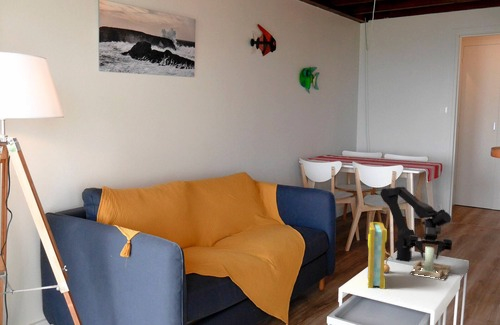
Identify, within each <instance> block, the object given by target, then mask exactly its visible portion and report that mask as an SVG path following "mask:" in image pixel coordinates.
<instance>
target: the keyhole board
mask: <svg viewBox="0 0 500 325" xmlns="http://www.w3.org/2000/svg"><path fill="white" fill-rule="evenodd" d="M424 264H425V260H424V261H423V260H417V261H416V262H415V264H414V265H413V268H412V270H413V269H415V271H412V270H411V271H410V272H409V274H410V273H412V274H418V275H424V276H430V277H435V278H440V279H445V277H446V276H447V277H448V275H449V274H450V272H451V265H449V264H443V263H436V262H434V269H433V270H435V271H437V272H438V273H432V272H426V271H420V270H421V268H423V269H424ZM448 273H449V274H448ZM447 274H448V275H447ZM447 277H446V278H447ZM445 280H446V279H445Z"/></svg>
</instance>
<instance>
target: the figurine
mask: <svg viewBox="0 0 500 325" xmlns="http://www.w3.org/2000/svg"><path fill="white" fill-rule="evenodd" d="M387 255H388V256H390V258H391V259H392V260H394V257H393V256H392V255H391V254H390V253H389V252H387V249H386V248H385V263H384V274H387V273H389V272H390V270H391V267H390V266H389V265H388V261H389V259H388V256H387Z"/></svg>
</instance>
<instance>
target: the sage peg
mask: <svg viewBox="0 0 500 325" xmlns="http://www.w3.org/2000/svg"><path fill="white" fill-rule="evenodd" d="M435 250H436V249H435V247H434V246H431V245H430V246H429V245H428V246H425V248H424V262H425V264H424V269H422V271H426V272H432V273H436V271H435V270H433V269H434V263H435Z"/></svg>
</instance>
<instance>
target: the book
mask: <svg viewBox="0 0 500 325" xmlns="http://www.w3.org/2000/svg"><path fill="white" fill-rule="evenodd" d="M368 228H369V231H368V234H367V247H368V258H367V259H368V261H367V263H368V264H367V288H369V289H374V287H375V286H377V287H379V290H385V286H386V277H385V273H384V264H385V262H386V259H385V249H386V242H387V237H388V234H387V233H388V231H387V228H385V225H384V223H383V222H378V221H371V222H369V227H368Z"/></svg>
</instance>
